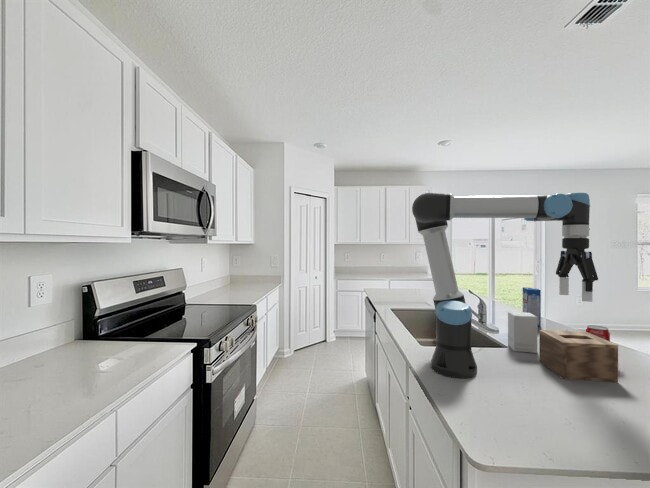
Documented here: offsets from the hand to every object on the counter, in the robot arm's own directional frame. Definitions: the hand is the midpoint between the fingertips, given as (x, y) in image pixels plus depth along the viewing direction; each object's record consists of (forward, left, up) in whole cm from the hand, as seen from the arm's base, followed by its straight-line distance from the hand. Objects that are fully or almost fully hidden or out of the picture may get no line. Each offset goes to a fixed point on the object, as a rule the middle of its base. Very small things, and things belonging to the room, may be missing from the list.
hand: (574, 298), depth 114 cm
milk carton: (+15, +69, -26) cm, 75 cm away
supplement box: (-8, +23, -26) cm, 35 cm away
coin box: (0, 0, -26) cm, 26 cm away
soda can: (+14, +12, -26) cm, 32 cm away
